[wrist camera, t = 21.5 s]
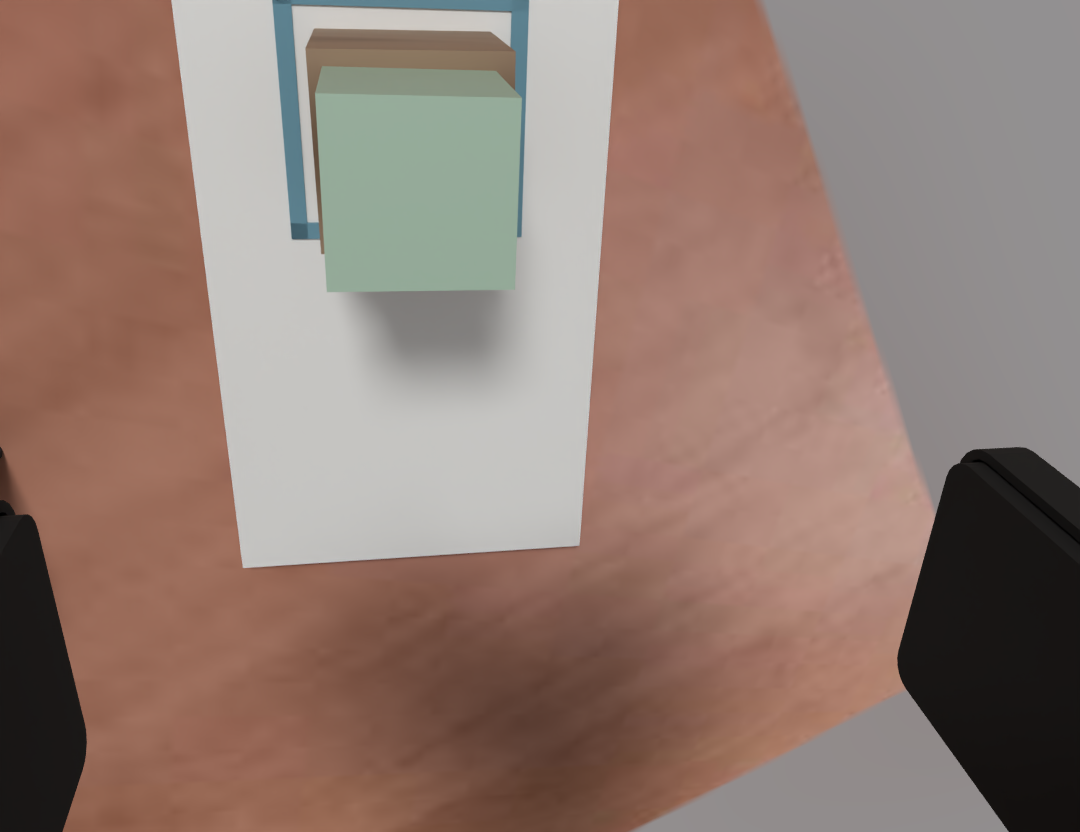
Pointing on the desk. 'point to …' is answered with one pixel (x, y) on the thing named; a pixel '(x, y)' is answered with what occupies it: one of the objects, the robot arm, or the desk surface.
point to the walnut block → (400, 61)
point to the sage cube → (418, 178)
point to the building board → (396, 299)
